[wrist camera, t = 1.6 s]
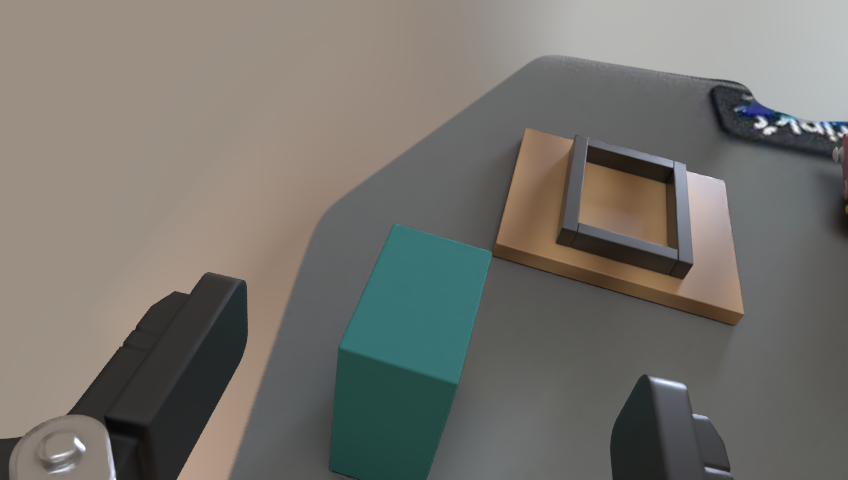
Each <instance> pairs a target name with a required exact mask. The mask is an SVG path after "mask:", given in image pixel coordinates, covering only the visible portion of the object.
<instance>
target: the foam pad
mask: <svg viewBox="0 0 848 480" xmlns="http://www.w3.org/2000/svg"><path fill="white" fill-rule="evenodd" d="M491 257H492V252H491V251H487V250H484V249H480V248H477V247H473V246H470V245H466V244H463V243H460V242H456V241H453V240H449V239H446V238H442V237H439V236H435V235H432V234H428V233H425V232H421V231H418V230H414V229H411V228H408V227H404V226H401V225H397V224H394V225H393V226H392V229H391V231H390V233H389V235H388V238H387V240H386V242H385V244H384V247H383V249H382V251H381V253H380V255H379V258H378V260H377V262H376V264H375V267H374V269H373V271H372V273H371V276H370V278H369V280H368V282H367V284H366V287H365V289H364V291H363V293H362V296H361V298H360V300H359V302H358V305H357V307H356V309H355V311H354V313H353V316H352V318H351V320H350V322H349V325H348V327H347V329H346V331H345V334H344V336H343V338H342V340H341V342H340V345H339V347H338V360H337V373H336V386H335V399H334V412H333V424H332V437H331V450H330V463H329V469H330V470H332V471H335V472H338V473H341V474H344V475H347V476H350V477H354V478H357V479H360V480H427V477H428V474H429V471H430V468H431V465H432V462H433V459H434V456H435V453H436V450H437V447H438V444H439V441H440V438H441V435H442V432H443V429H444V426H445V423H446V420H447V417H448V414H449V411H450V408H451V405H452V402H453V399H454V396H455V393H456V390H457V387H458V384H459V380H460V376H461V372H462V369H463V365H464V361H465V357H466V353H467V349H468V345H469V342H470V338H471V334H472V330H473V326H474V322H475V319H476V315H477V311H478V307H479V303H480V299H481V295H482V292H483V288H484V284H485V280H486V276H487V272H488V268H489V265H490V261H491Z"/></svg>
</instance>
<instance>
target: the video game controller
mask: <svg viewBox="0 0 848 480" xmlns="http://www.w3.org/2000/svg"><path fill="white" fill-rule="evenodd" d="M838 158H839V159H840V161H841V163H842V168H843V192H844V197H845V199H846V200H848V133H846V134H844V135H843V138H842V145H841V148H840V149H839V151H838V148H837V147H836V148H835V149H834V151H833V159H834V160H835V162H838ZM846 213H847V214H848V205H847V206H846Z"/></svg>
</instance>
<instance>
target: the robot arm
mask: <svg viewBox="0 0 848 480" xmlns="http://www.w3.org/2000/svg"><path fill="white" fill-rule="evenodd" d="M247 336H248V318H247V285H246V282H245V281H244V280H241V279H237V278H232V277H228V276H223V275H219V274H215V273H211V272H207V273H205V274H204V275H203V276H202V278H201V279H200V280H199V282H198V283H197V285H196V286H195V287H194V289H193V290H192V292H191V293H190V294H185V293H180V292H176V291H174V292H173V293H171V294H170V295H168V296H167V297H165V298H163V299H162V300H160V301H159V302H157V303H156V304H154V305H153V306H151V307H150V309H149V310H148V311H147V313H146V314H145V315H144V316H143V318H142V319H141V320H140V322H139V323H138V324H137V326H136V329H135V330H133V331H132V332H131V333H130V335H129V336H128V337H127V338H126V340H125V341H124V342H123V346H122V347H119V349H118V350H117V351H116V353H115V354H114V355H113V357H112V358H111V359H110V361H109V362H108V363H107V364H106V366H105V367H104V368H103V370H102V371H101V372H100V373H99V375H98V376H97V377H96V379H95V380H94V381H93V383H92V384H91V385H90V386H89V388H88V389H87V390H86V392H85V393H84V394H83V395H82V397H81V398H80V399H79V401H78V402H77V403H76V405H75V406H74V407H73V408H72V409H71V410H70V412H69V413H68V414H66V415H65V416H60V417H56V418H53V419H50V420H48V421H45V422H43V423H41V424H40V425H38V426H36V427H34V428H33V429H32V430H31V431H29V432H28V433H26V434H25V435H24V436H23V437H18V438H9V439H0V480H176V479H177V478H178V476H179V474H180V472H181V470H182V468H183V467H184V465H185V463H186V461H187V459H188V457H189V455H190V453H191V452H192V450H193V448H194V446H195V444H196V443H197V441H198V439H199V437H200V435H201V433H202V431H203V429H204V428H205V426H206V424H207V422H208V420H209V418H210V416H211V415H212V413H213V411H214V409H215V407H216V405H217V404H218V402H219V400H220V398H221V396H222V394H223V393H224V391H225V389H226V387H227V385H228V383H229V381H230V380H231V378H232V376H233V374H234V372H235V370H236V369H237V367H238V365H239V363H240V361H241V359H242V356H243V353H244V350H245V347H246V342H247ZM610 454H611V465H612V477H613V480H734V479H733V475H732V473H730V469H731V468H730V464H729V460H728V456H727V453H726V449H725V445H724V442H723V440H722V439H721V437H720V436H719V434H718V433H717V431H716V430H715V428H714V427H713V425H712V424H711V422H710V421H709V419H708V418H707V417H705V416H701V415H697V414H693V413H692V408H691V404H690V400H689V395H688V391H687V388H686V386H685V385H684V384H683V383H680V382H675V381H671V380H667V379H662V378H658V377H654V376H649V375H642V376H641V377H640V378H639V380H638V382H637V383H636V385H635V387H634V389H633V391H632V392H631V394H630V396H629V398H628V400H627V401H626V403H625V405H624V407H623V409H622V410H621V412H620V414H619V416H618V418H617V419H616V422H615V424H614V427H613V431H612V435H611V443H610Z"/></svg>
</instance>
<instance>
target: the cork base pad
mask: <svg viewBox="0 0 848 480" xmlns="http://www.w3.org/2000/svg"><path fill="white" fill-rule="evenodd" d="M492 255H493V256H496V257H499V258H503V259H506V260H510V261H513V262H517V263H520V264H524V265H527V266H530V267H534V268H537V269H541V270H544V271H548V272H551V273H555V274H558V275H562V276H565V277H568V278H572V279H575V280H579V281H582V282H586V283H589V284H593V285H596V286H600V287H603V288H607V289H610V290H613V291H617V292H620V293H624V294H627V295H631V296H634V297H638V298H641V299H645V300H648V301H652V302H655V303H658V304H662V305H665V306H669V307H672V308H676V309H679V310H683V311H686V312H690V313H693V314H697V315H700V316H703V317H707V318H710V319H714V320H717V321H721V322H724V323H728V324H731V325H736V324H737V323H738V321H739V320H740V319H741V318H742V317H743V315H744V309H743V302H742V296H741V289H740V282H739V275H738V269H737V262H736V255H735V249H734V242H733V235H732V228H731V222H730V215H729V208H728V202H727V195H726V188H725V182H724V181H722V180H718V179H714V178H710V177H707V176H703V175H699V174H696V173H692V172H688V171H686V165H685V164H682V163H678V162H673V161H672V160H668V159H664V158H660V157H657V156H653V155H649V154H646V153H642V152H638V151H634V150H631V149H627V148H623V147H620V146H616V145H612V144H608V143H605V142H601V141H597V140H593V139H590V138H589V139H588V138H586V137H583V136H579V135H575V138H574V141H573V140H570V139H566V138H562V137H559V136H555V135H551V134H548V133H544V132H540V131H536V130H533V129H529V128H525V131H524V135H523V138H522V141H521V145H520V149H519V153H518V157H517V161H516V165H515V168H514V172H513V176H512V180H511V184H510V188H509V192H508V195H507V199H506V203H505V207H504V211H503V215H502V218H501V222H500V226H499V230H498V234H497V238H496V242H495V245H494V249H493V253H492Z"/></svg>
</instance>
